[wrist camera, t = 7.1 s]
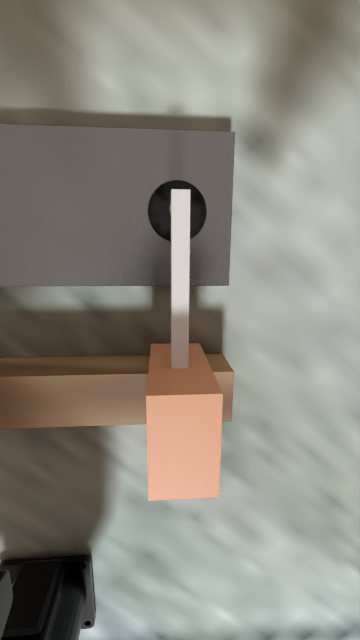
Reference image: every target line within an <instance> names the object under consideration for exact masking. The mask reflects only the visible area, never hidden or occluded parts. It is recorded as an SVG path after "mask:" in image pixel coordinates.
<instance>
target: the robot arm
mask: <svg viewBox="0 0 360 640" xmlns="http://www.w3.org/2000/svg"><path fill="white" fill-rule="evenodd" d="M94 622H95V604H94V591H93V578H92V565H91V558H90V557H89V556H86V555H80V556H64V557H48V558H33V559H17V560H5V561H2V562H1V563H0V640H78V639H79V634H80V629H87V628H91V627H93V626H94Z"/></svg>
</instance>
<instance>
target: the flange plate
mask: <svg viewBox="0 0 360 640" xmlns="http://www.w3.org/2000/svg"><path fill="white" fill-rule="evenodd" d="M234 144H235V132H226V131H197V130H168V129H139V128H110V127H80V126H51V125H22V124H0V286H171V214H170V212H169V208H170V203H171V189H189V190H190V271H189V286H229V266H230V242H231V217H232V193H233V168H234Z"/></svg>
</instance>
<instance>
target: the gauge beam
mask: <svg viewBox="0 0 360 640" xmlns="http://www.w3.org/2000/svg"><path fill="white" fill-rule="evenodd" d="M205 356H206V358H207V360H208V362H209V364H210V367H211V369H212V371H213V373H214V375H215V378H216V380H217V382H218V384H219V386H220V388H221V391H222V393H223V405H222V421H232V400H233V379H234V371H233V370H232V368H231V366H230V365H229V363H228V362H227V360H226V359H225V357H224V356H223V354H205ZM149 360H150V355H123V356H68V357H14V358H0V429H17V428H46V427H75V426H104V425H133V424H147V417H146V391H147V381H148V370H149Z"/></svg>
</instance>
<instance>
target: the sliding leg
mask: <svg viewBox="0 0 360 640" xmlns="http://www.w3.org/2000/svg"><path fill="white" fill-rule="evenodd" d="M169 212H170V214H171V343H166V344H151V350H150V360H149V370H148V381H147V391H146V417H147V461H148V501H154V500H173V499H192V498H211V497H219V481H220V456H221V430H222V405H223V393H222V391H221V388H220V386H219V384H218V382H217V380H216V378H215V375H214V373H213V371H212V369H211V367H210V364H209V362H208V360H207V358H206V356H205V354H204V351H203V349H202V347H201V345H200V343H189V271H190V190H189V189H171V203H170V208H169Z"/></svg>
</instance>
